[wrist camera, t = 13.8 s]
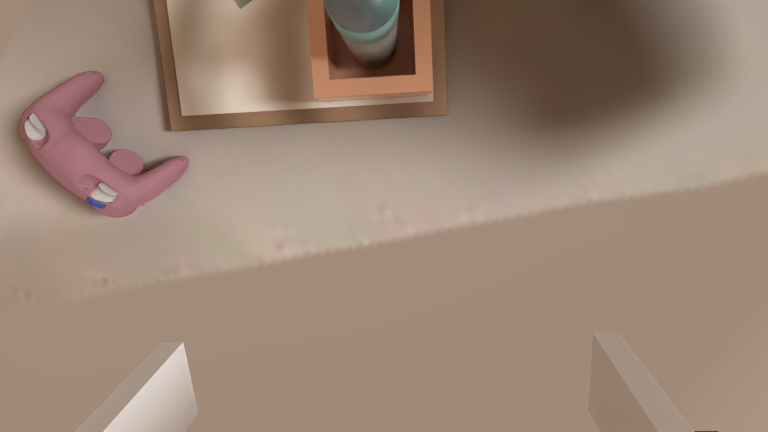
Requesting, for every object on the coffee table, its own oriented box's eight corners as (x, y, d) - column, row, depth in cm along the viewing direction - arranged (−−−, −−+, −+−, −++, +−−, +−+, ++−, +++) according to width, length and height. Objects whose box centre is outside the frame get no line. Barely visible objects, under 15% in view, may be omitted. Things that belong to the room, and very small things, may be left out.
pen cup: (423, -15, 32) (428, -39, 27) (427, 95, 34) (433, 90, 29) (317, -7, 32) (303, -31, 27) (325, 101, 34) (314, 97, 29)
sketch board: (438, -129, 32) (440, -139, 31) (446, 115, 35) (448, 114, 34) (145, -108, 33) (135, -117, 31) (177, 130, 36) (169, 130, 34)
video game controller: (80, 102, 37) (-12, 132, 31) (98, 61, 34) (1, 85, 29) (175, 194, 38) (102, 239, 32) (199, 161, 36) (125, 204, 30)
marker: (395, 17, 32) (397, -50, 20) (398, 68, 33) (401, 31, 21) (346, 21, 32) (320, -44, 20) (350, 71, 33) (326, 37, 21)
